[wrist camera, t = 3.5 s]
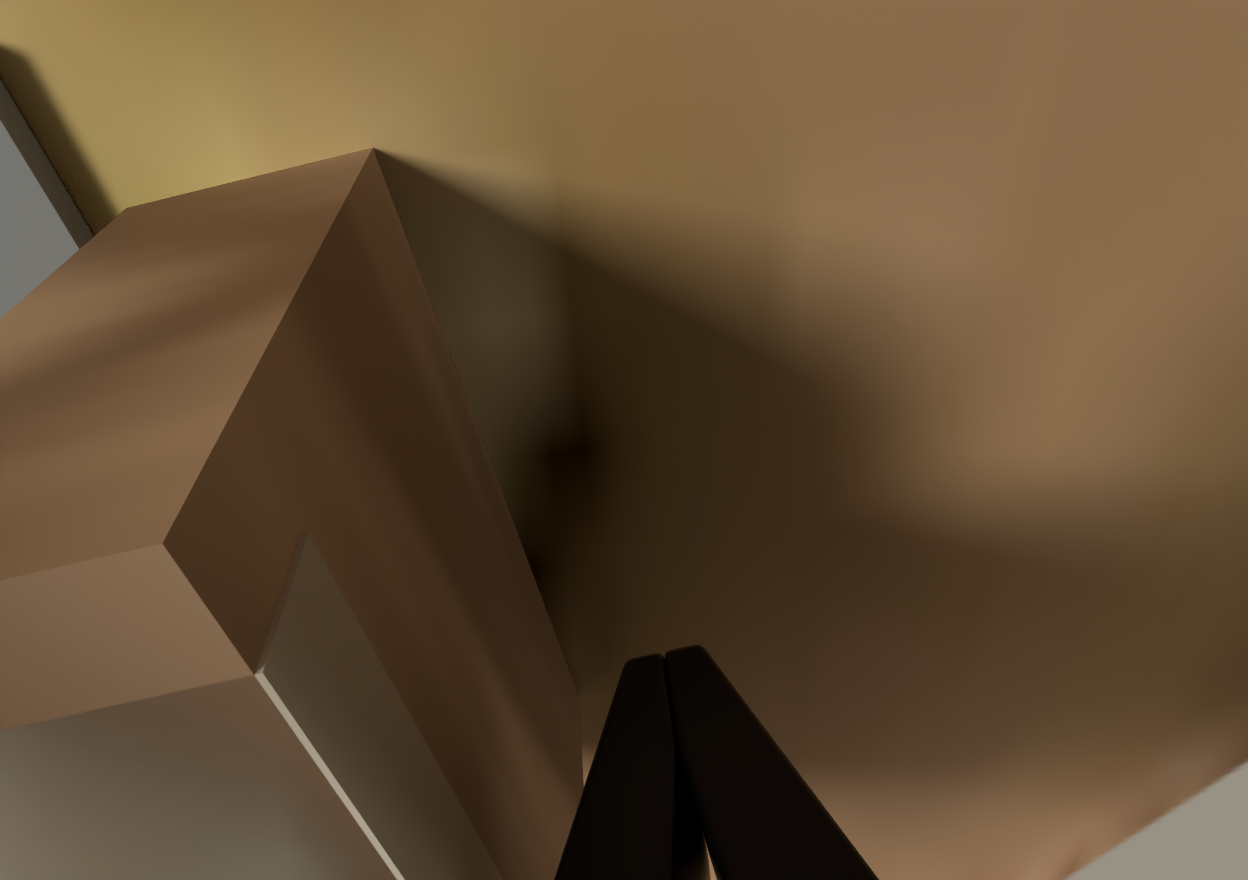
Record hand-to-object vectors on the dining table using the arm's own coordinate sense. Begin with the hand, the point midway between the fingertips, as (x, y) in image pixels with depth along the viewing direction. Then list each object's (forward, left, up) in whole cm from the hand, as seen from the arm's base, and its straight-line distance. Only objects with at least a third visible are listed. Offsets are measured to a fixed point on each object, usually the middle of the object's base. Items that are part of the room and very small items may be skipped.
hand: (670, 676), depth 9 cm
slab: (+3, 0, -4) cm, 5 cm away
